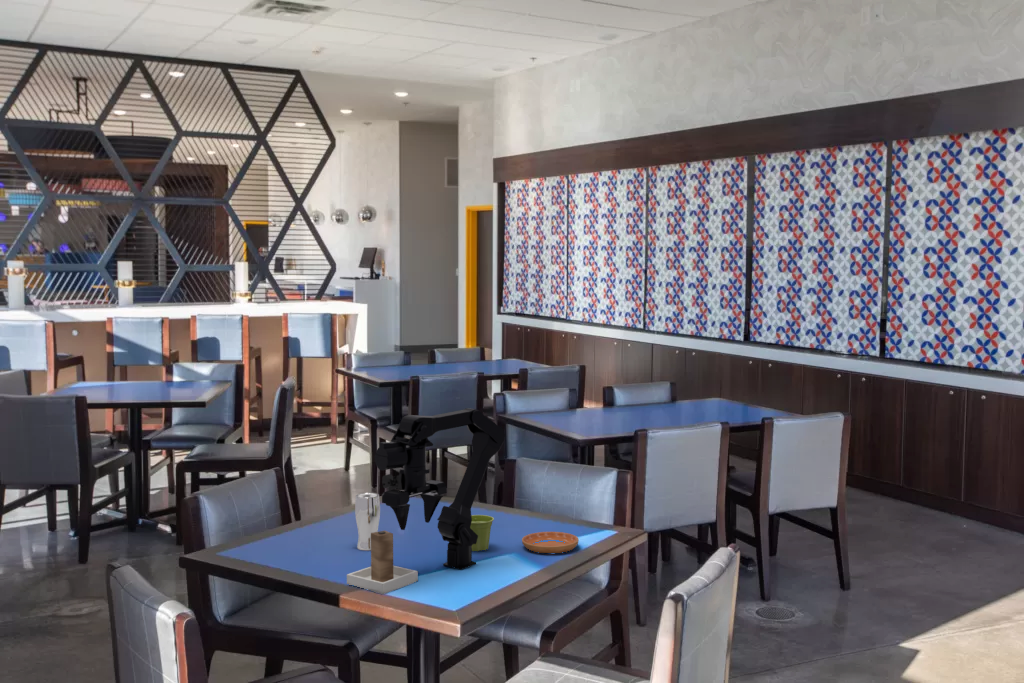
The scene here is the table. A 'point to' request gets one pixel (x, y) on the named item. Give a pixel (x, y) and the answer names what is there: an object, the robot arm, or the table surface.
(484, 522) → the plant pot
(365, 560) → the table surface
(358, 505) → the beer glass
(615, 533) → the table surface
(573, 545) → the saucer
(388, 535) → the walnut post
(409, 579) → the bus tray
